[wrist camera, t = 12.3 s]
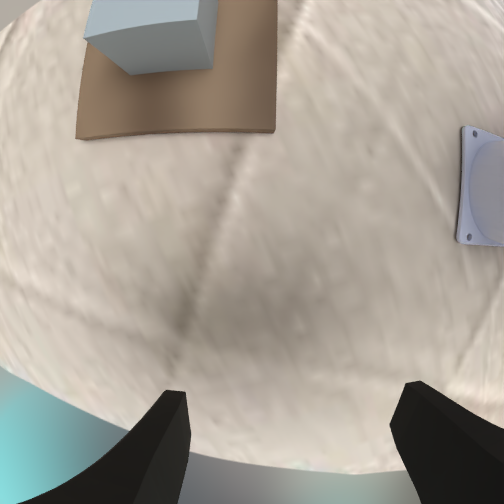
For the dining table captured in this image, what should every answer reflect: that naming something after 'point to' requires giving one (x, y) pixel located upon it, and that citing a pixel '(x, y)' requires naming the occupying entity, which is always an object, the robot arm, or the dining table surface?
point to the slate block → (154, 33)
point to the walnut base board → (190, 84)
